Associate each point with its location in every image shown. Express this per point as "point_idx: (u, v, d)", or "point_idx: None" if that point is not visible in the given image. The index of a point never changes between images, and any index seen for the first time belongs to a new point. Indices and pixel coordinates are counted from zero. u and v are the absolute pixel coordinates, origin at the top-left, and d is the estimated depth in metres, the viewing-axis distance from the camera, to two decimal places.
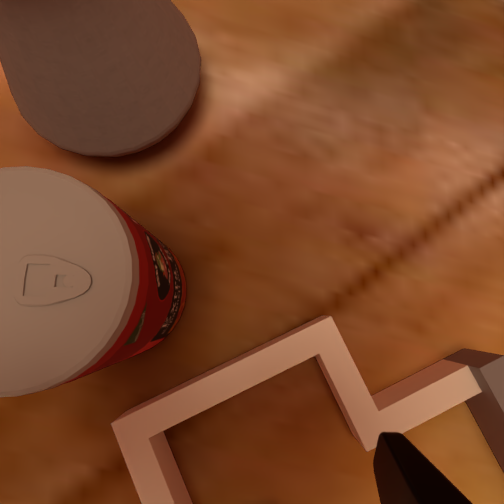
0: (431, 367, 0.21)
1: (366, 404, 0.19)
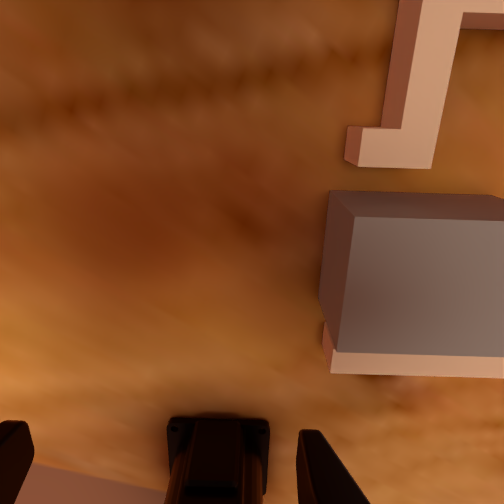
0: None
1: None
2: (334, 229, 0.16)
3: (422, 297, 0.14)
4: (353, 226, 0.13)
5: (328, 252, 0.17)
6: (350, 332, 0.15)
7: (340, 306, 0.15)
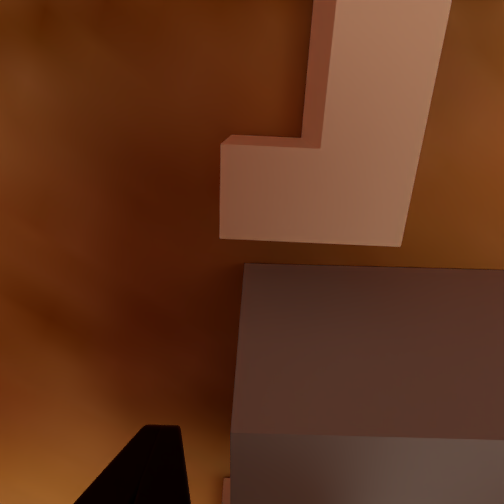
0: None
1: None
2: None
3: None
4: (230, 454, 0.04)
5: None
6: None
7: None
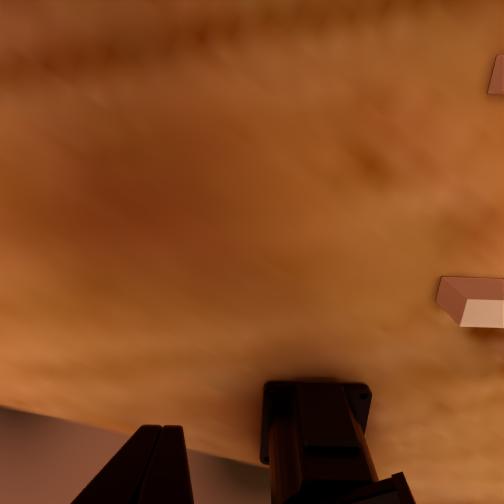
0: None
1: None
2: None
3: None
4: None
5: None
6: None
7: None
